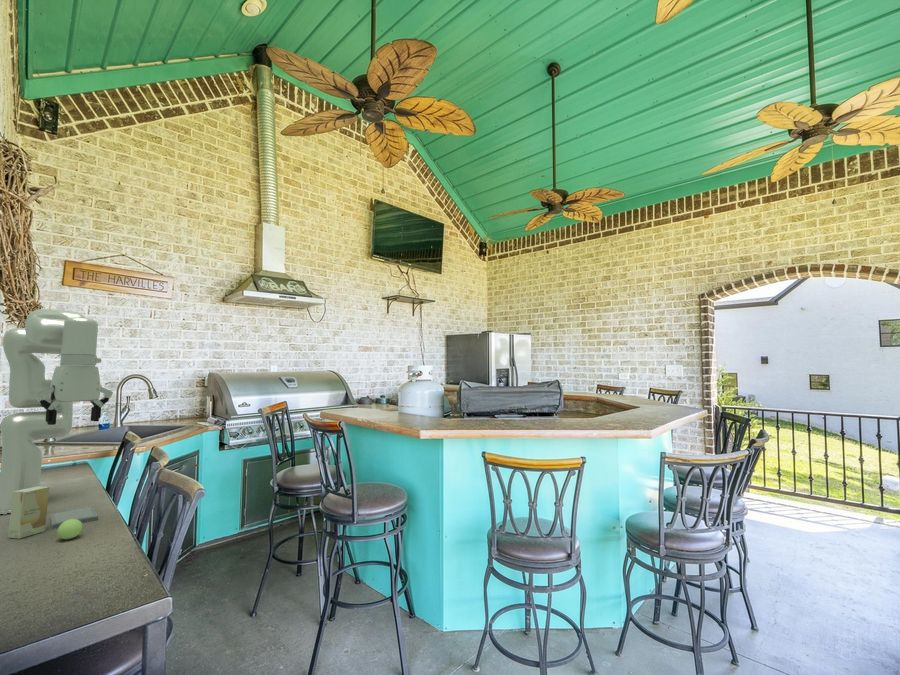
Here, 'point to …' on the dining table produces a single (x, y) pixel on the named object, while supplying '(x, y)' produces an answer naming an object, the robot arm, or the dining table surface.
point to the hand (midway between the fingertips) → (73, 422)
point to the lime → (69, 529)
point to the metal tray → (73, 516)
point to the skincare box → (28, 512)
